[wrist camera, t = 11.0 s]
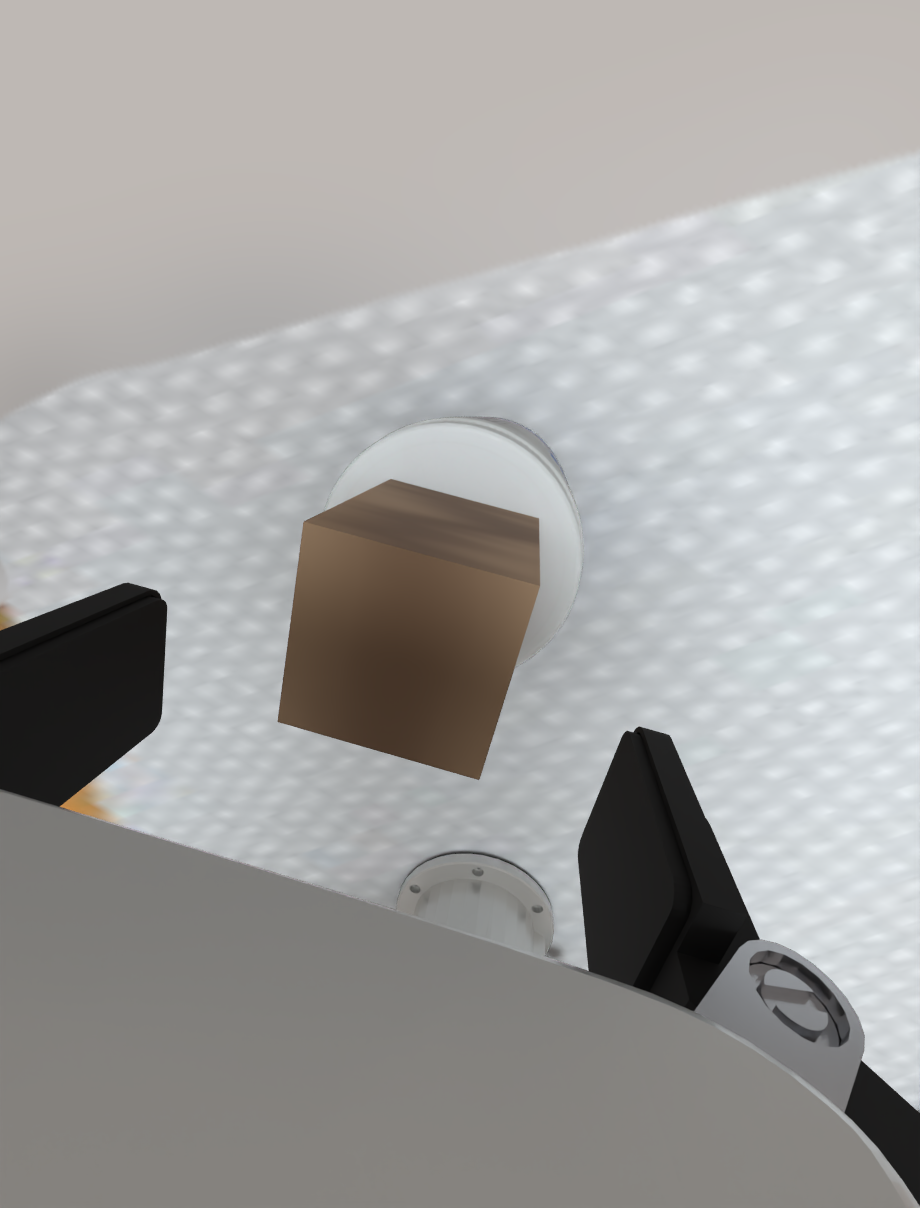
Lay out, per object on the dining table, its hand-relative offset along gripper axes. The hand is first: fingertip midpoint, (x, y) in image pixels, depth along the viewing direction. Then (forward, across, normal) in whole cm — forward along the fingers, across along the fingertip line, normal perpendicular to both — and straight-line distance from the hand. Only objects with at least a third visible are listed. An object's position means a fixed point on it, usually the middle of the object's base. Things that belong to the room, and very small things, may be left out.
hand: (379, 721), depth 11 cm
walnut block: (+8, 0, -1) cm, 9 cm away
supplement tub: (+23, 0, -1) cm, 23 cm away
